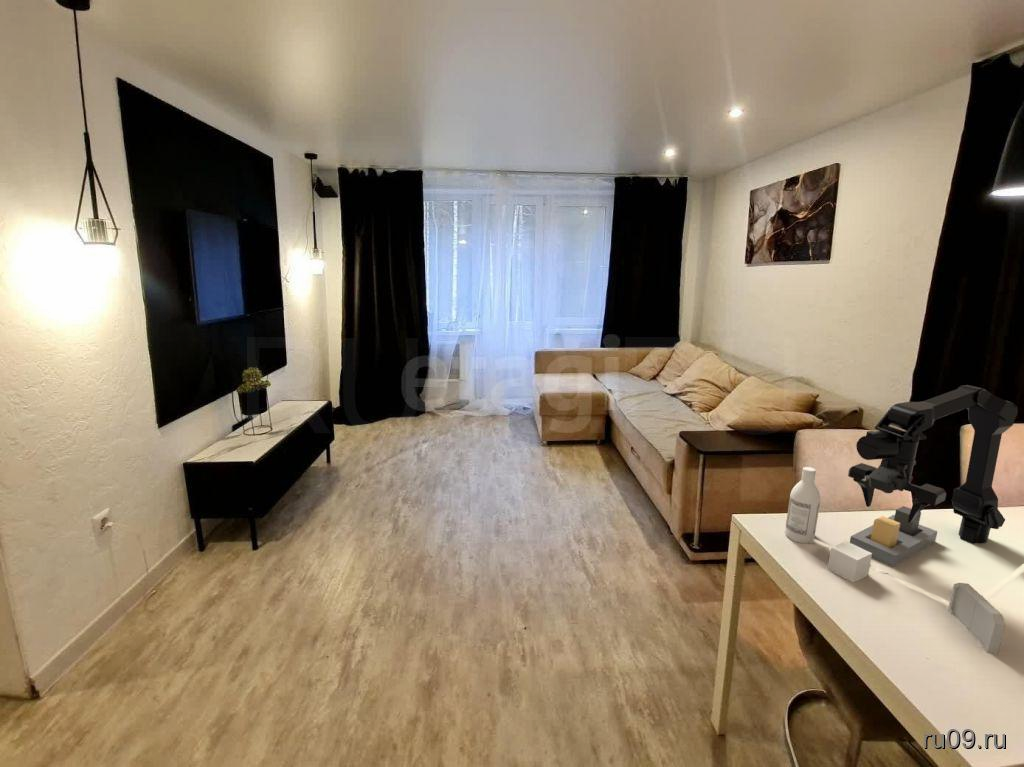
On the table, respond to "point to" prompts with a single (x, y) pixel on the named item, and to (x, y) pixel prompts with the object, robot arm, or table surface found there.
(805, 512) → the bath foam
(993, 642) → the light switch
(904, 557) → the grey piece
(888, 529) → the amber plug
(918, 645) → the table surface
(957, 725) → the table surface
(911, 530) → the dark gray plug
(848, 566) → the white cube
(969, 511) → the robot arm
